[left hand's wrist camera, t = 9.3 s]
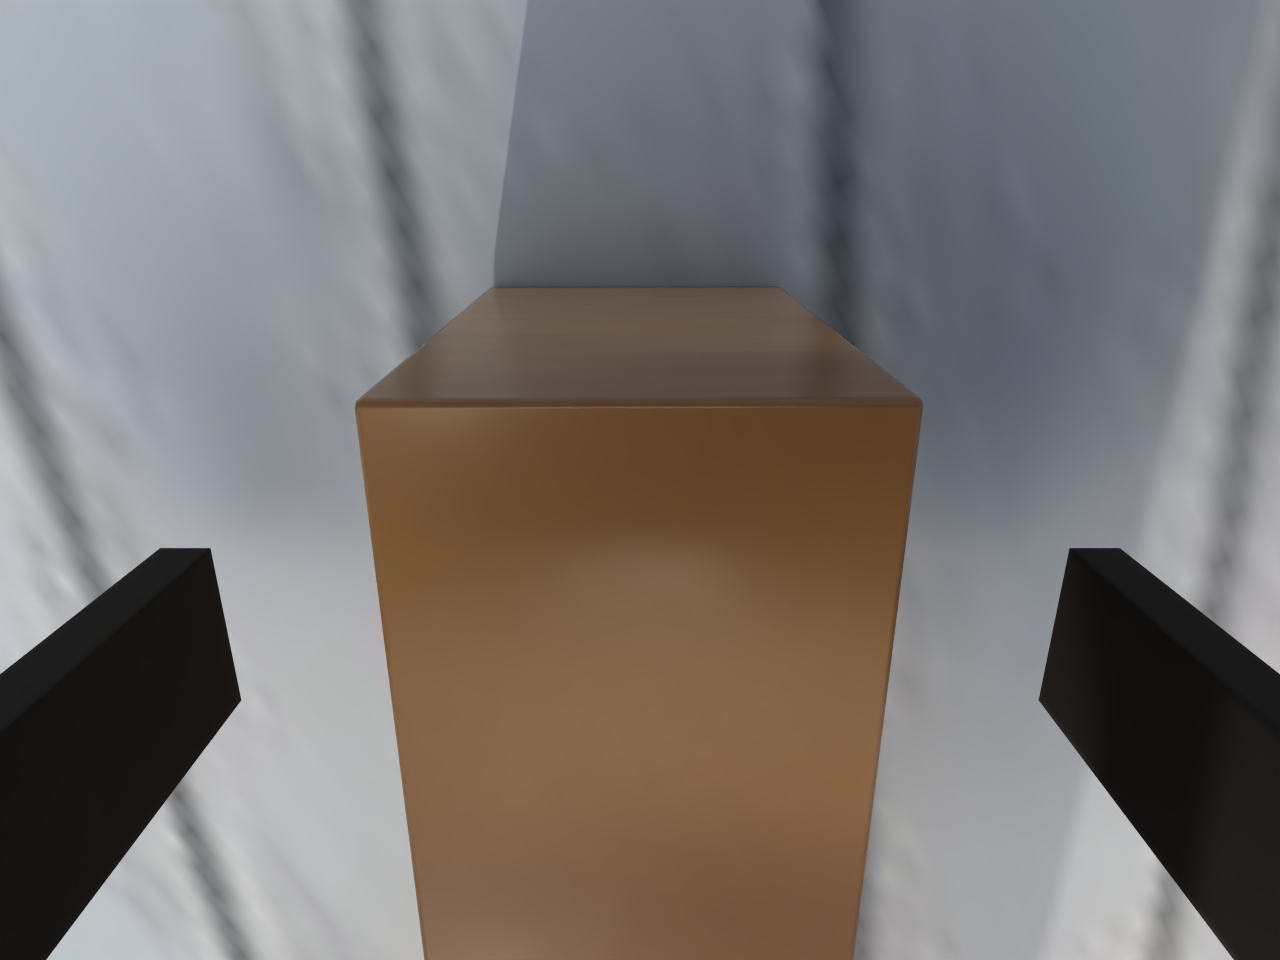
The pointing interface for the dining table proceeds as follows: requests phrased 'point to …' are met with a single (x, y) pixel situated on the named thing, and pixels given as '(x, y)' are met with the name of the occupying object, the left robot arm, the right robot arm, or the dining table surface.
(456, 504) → the bar
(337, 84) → the dining table surface
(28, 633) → the dining table surface
